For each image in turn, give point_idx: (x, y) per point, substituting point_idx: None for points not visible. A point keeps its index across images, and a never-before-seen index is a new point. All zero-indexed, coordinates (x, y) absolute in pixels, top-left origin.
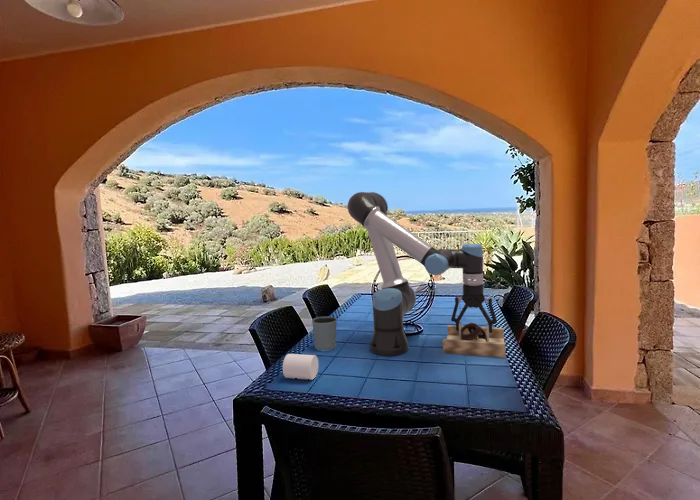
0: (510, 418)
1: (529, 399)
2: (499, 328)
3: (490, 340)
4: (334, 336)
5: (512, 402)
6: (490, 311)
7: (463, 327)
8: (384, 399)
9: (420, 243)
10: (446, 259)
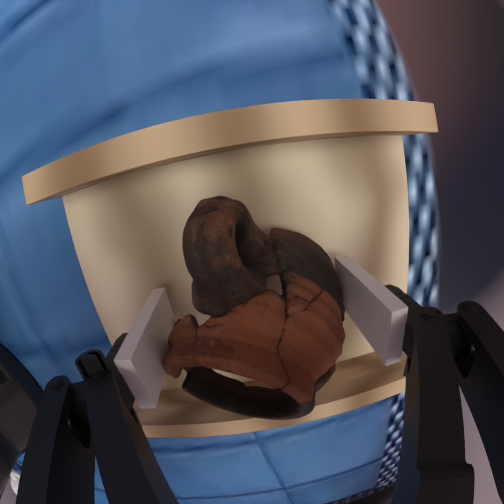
0: (351, 500)
1: (389, 469)
2: (414, 113)
3: (339, 192)
4: None
5: (361, 484)
6: (482, 439)
7: (176, 369)
8: None
9: None
10: None
